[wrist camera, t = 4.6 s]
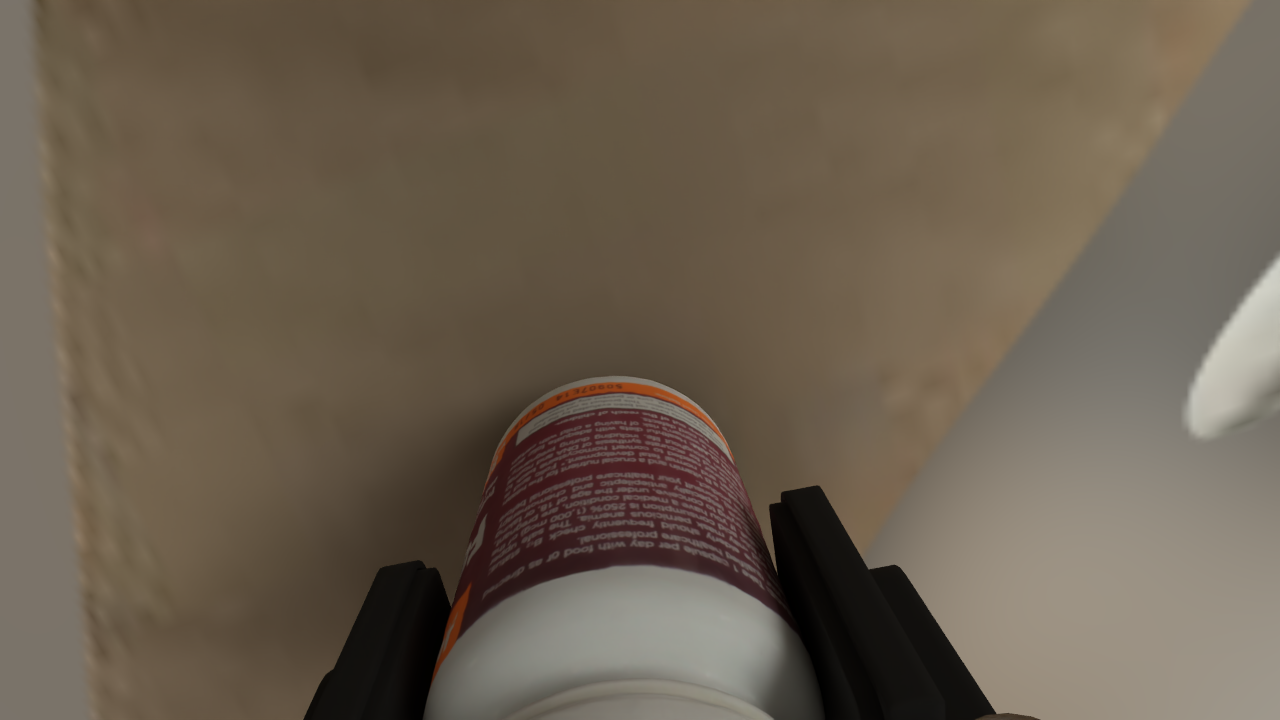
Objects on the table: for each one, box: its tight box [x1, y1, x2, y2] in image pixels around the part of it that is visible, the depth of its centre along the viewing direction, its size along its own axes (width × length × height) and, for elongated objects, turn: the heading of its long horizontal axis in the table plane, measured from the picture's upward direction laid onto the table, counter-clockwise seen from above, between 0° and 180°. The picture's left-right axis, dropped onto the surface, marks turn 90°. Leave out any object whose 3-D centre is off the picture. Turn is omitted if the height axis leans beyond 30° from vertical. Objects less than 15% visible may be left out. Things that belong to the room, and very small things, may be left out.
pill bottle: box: [423, 376, 825, 720], centre depth 10 cm, size 5×5×8 cm
